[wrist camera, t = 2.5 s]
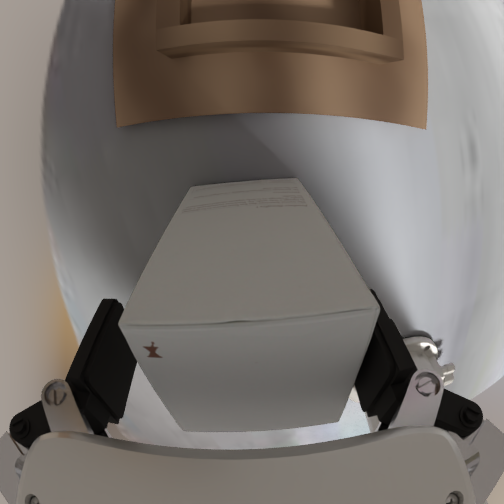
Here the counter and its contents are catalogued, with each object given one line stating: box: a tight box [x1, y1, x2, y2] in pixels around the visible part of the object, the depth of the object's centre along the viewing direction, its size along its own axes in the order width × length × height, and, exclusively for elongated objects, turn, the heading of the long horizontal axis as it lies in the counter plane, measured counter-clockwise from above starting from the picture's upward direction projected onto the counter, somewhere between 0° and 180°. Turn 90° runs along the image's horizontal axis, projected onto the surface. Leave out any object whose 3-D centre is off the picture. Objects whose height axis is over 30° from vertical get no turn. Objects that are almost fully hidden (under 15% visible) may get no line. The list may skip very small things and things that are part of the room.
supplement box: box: [118, 178, 380, 432], centre depth 14 cm, size 7×7×13 cm
